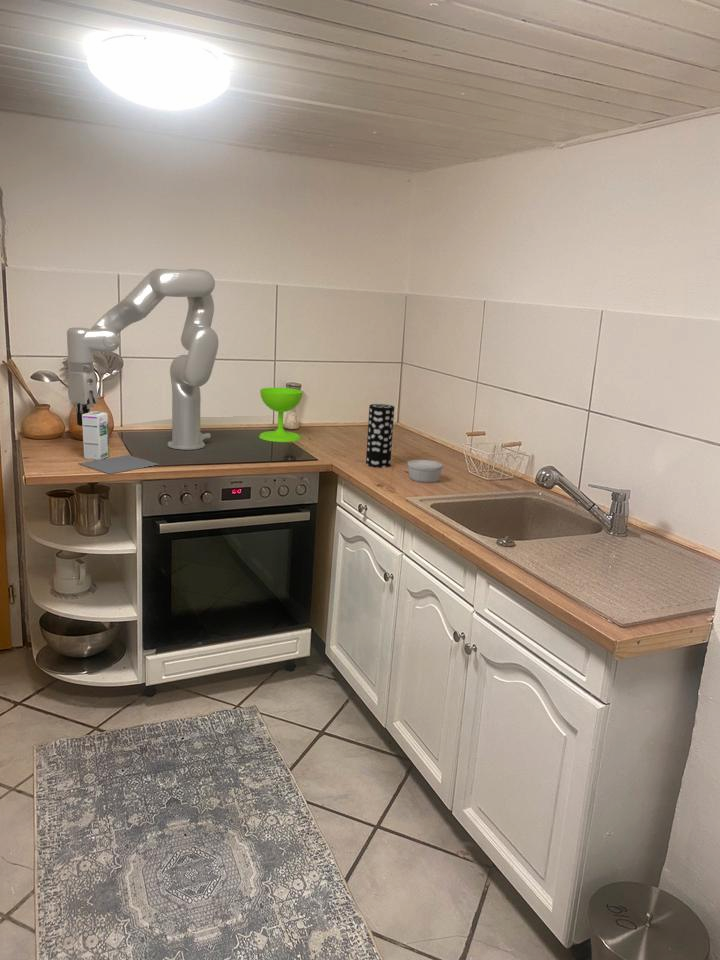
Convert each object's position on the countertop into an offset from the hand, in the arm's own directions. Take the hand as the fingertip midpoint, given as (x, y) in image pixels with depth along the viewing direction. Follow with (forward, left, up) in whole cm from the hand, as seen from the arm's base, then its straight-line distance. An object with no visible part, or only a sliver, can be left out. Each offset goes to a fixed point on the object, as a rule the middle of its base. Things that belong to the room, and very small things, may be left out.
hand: (83, 424), depth 240 cm
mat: (0, +19, -10) cm, 21 cm away
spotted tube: (-65, +71, -10) cm, 97 cm away
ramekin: (-61, +92, -10) cm, 111 cm away
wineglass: (-71, +20, -10) cm, 74 cm away
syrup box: (0, +7, -10) cm, 12 cm away
